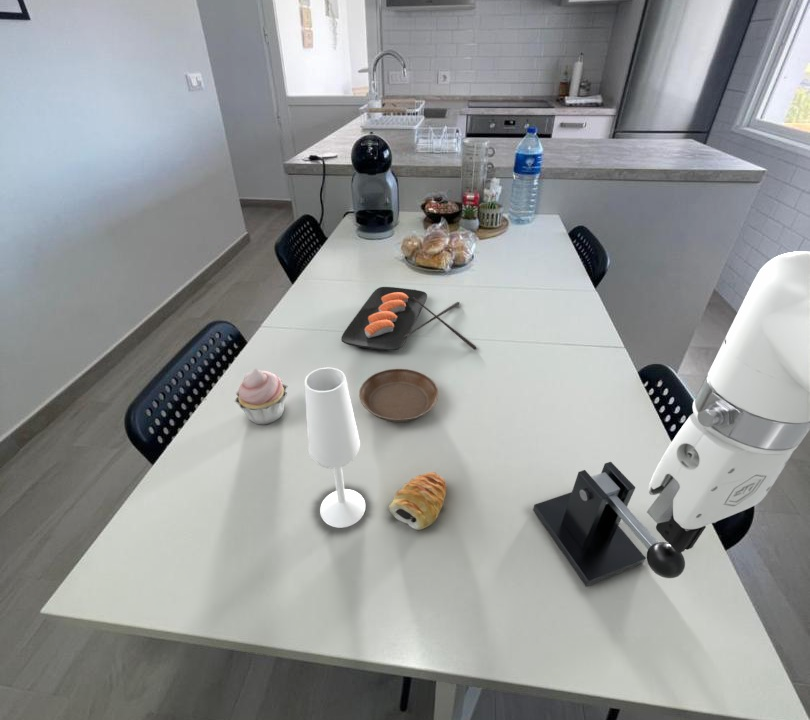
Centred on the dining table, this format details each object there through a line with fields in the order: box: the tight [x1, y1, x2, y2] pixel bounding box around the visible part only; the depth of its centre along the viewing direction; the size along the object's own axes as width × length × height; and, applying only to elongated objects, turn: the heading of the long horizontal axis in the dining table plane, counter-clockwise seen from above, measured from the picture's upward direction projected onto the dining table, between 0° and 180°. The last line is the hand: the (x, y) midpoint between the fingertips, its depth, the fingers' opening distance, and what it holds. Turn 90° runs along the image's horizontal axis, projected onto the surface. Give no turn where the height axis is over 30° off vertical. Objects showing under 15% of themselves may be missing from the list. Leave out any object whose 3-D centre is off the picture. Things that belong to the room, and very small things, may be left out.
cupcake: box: [234, 368, 289, 425], centre depth 80 cm, size 9×9×10 cm
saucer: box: [358, 368, 439, 423], centre depth 84 cm, size 15×15×3 cm
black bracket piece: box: [532, 461, 647, 587], centre depth 58 cm, size 12×9×12 cm
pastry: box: [388, 472, 448, 531], centre depth 65 cm, size 9×7×4 cm
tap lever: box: [591, 472, 686, 579], centre depth 52 cm, size 13×4×4 cm, turn 20°
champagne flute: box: [304, 366, 367, 529], centre depth 59 cm, size 7×7×24 cm
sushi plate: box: [340, 286, 477, 352], centre depth 107 cm, size 29×30×4 cm
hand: (672, 538), depth 47 cm, fingers closed
